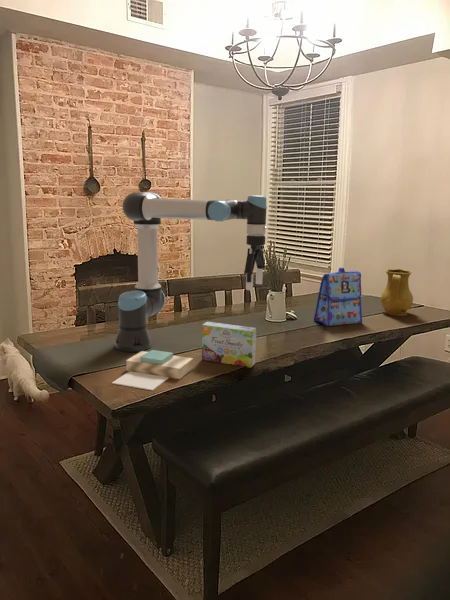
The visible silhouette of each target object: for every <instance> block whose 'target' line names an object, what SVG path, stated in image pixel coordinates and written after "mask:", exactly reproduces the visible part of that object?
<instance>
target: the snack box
mask: <svg viewBox="0 0 450 600" xmlns="http://www.w3.org/2000/svg"><path fill="white" fill-rule="evenodd" d="M256 347H257V328H256V327H251V326H246V325H245V326H244V325H237V324H236V325H234V324H231V323H230V324H229V323H222V322H214V321H206V322H204V323H203V324H201V360H202V361H208V362H215V363H221V364H227V365H231V364H232V365H233V366H237V365H241V366H240V367H244V366H247V367H246V368H252V367H254V365H255V364H256V351H257V349H256Z"/></svg>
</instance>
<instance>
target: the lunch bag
mask: <svg viewBox="0 0 450 600" xmlns="http://www.w3.org/2000/svg"><path fill="white" fill-rule="evenodd" d="M320 281H321V282H320V285H319V290H318V295H317V301H316V304H315V305H316V307H315V311H314V316H313V321H314V322H319V323H322V324H323V325H325V326H326V327H334V326H344V325H350V324H351V325H353V324H354V325H355V324H361V323H362V322H363V313H362V273H361V272H360V271H357V270H355V271H354V270H350V271H345V268H344V267H339V268H338V271H337V272H330V273H325V274H323V275H322V278H321V280H320Z"/></svg>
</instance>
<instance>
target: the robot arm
mask: <svg viewBox="0 0 450 600" xmlns="http://www.w3.org/2000/svg"><path fill="white" fill-rule="evenodd" d="M267 209H268V207H267V197H266V196H265V195H248V196H247V199H246V200H245V199H243V200H242V199H241V200H240V199H221V200H208V199H186V198H185V199H181V198H162V197H161V195H159V194H157V193H155V192H150V191H142V192H132V193H129V194H127V195H126V197H124V200H123V201H122V212H123V214H124V215H125V216H126V218H127V219H129V220H131V221H133V225H134V226H135V227H136V229H137V235H136V236H137V279H138V280H137V281H138V282H137V283H136V284H135V285H134V290H130V291H125V292H123V293H121V294H119V295H118V296H119V297H118V301H117V302H118V303H117V307H118V331H117V336H116V339H115V349H116V350H118V351H120V352H124V353H125V352H127V353H128V352H129V353H130V352H131V353H134V352H135V353H139V352H141V351H146V350H149V349H150V348H151V347H152V338H151V336H150V334H149V331H148V325H147V324H148V323H147V322H148V319H147V318H150V317H152V316H154V315H157V314H158V313H160V312H161V311H162V310H163V309H164V308H165V306H166V301H167V299H166V295H165V293H164V292H163V290H162V285H161V284H160V283H159V281H158V280H159V273H158V271H159V269H158V267H159V266H158V265H159V263H158V261H159V260H158V257H159V255H158V228H159V227H160V226H161V224H162V221H161V220H162V219H178V220H201V221H203V220H204V221H215V222H225V221H229V220H246V241H245V242H246V245H248V246H250V248H247V254H246V255H247V256H246V259H245V266H244V270H243V274H244V275H245V290H246V291H253V290H254V268H255V264H256V269H255V284H256V285H263V279H264V276H263V273H264V269H266V266H265V257H264V246H265V245H266V236H265V234H266V230H267V229H268V227H267V226H266V225H267Z"/></svg>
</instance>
